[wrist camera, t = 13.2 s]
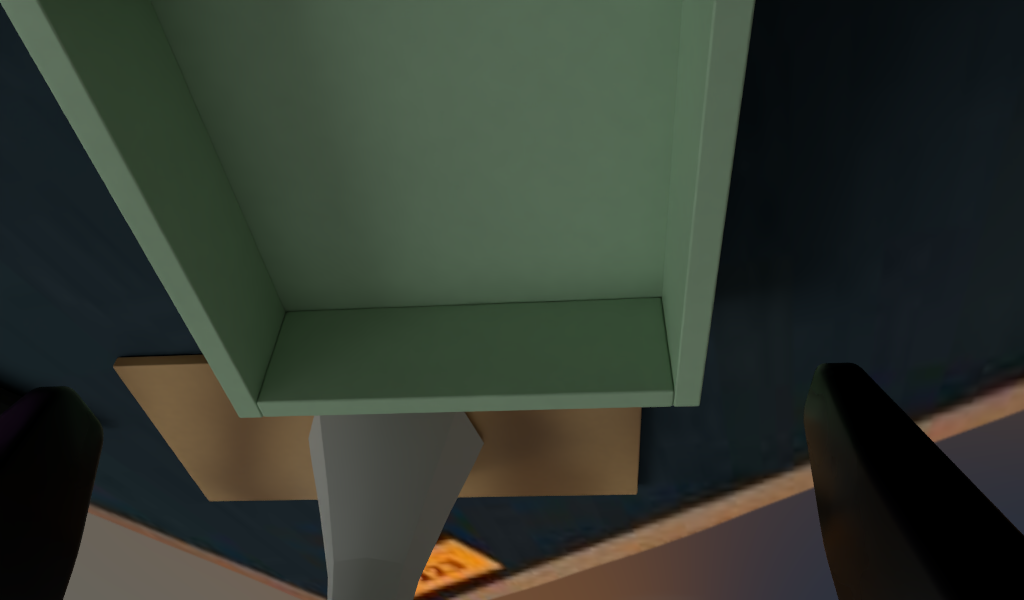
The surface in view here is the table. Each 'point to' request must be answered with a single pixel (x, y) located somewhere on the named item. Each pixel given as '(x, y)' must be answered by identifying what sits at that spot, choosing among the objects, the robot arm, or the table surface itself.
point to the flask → (386, 495)
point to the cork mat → (284, 440)
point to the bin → (417, 189)
